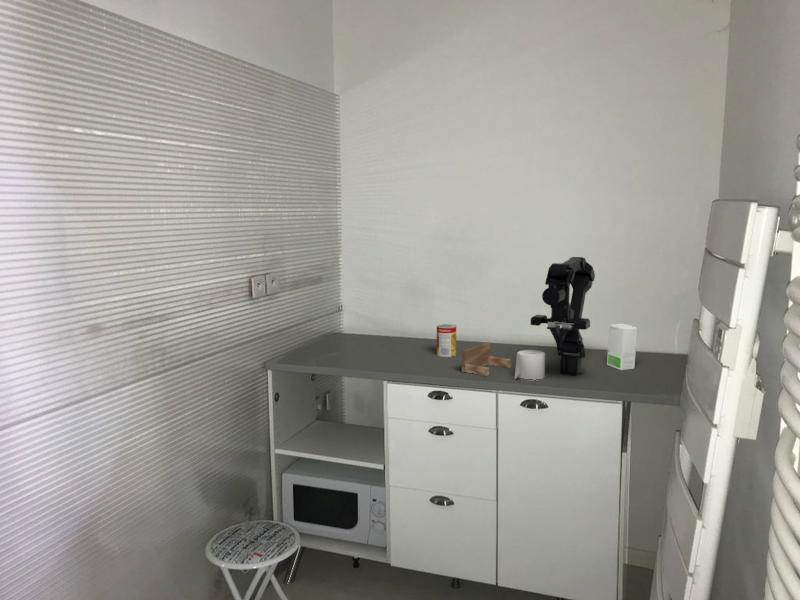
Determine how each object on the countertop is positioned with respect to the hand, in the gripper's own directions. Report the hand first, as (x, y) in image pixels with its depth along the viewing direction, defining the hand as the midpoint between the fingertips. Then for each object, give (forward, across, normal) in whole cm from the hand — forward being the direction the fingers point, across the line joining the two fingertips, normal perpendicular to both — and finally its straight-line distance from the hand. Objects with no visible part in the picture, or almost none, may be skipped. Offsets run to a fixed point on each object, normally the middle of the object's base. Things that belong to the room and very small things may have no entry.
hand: (559, 347), depth 217 cm
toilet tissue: (+12, +11, -1) cm, 17 cm away
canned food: (+12, +52, -18) cm, 56 cm away
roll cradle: (+12, +28, -4) cm, 31 cm away
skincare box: (+12, -14, -31) cm, 36 cm away
